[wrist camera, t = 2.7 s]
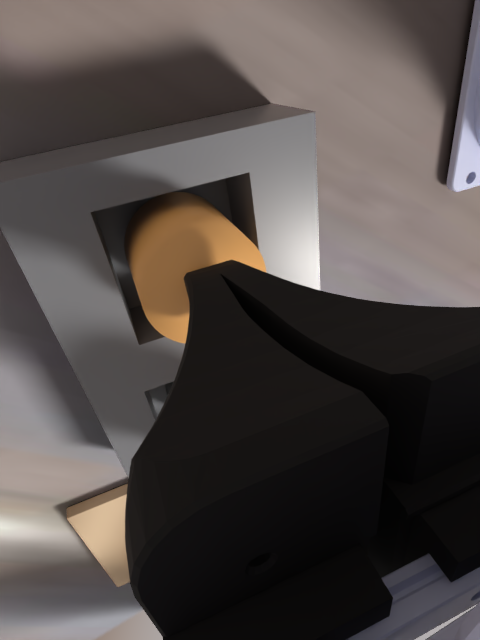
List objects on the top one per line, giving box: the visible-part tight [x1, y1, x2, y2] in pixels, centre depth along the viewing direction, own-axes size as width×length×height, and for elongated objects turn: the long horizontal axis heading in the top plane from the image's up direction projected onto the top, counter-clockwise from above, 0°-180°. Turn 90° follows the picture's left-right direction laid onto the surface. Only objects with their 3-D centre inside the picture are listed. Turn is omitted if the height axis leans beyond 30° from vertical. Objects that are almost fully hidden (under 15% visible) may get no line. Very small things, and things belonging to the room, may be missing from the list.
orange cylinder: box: [124, 192, 266, 344], centre depth 12 cm, size 4×4×4 cm
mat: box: [67, 484, 130, 587], centre depth 23 cm, size 8×8×1 cm
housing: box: [0, 104, 320, 478], centre depth 16 cm, size 9×14×3 cm, turn 9°
